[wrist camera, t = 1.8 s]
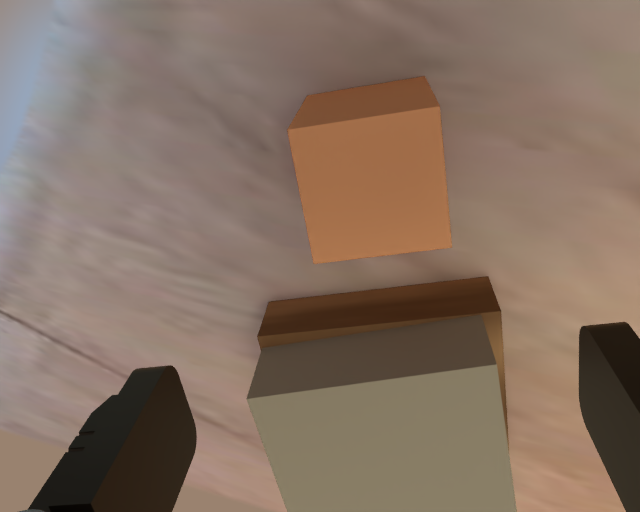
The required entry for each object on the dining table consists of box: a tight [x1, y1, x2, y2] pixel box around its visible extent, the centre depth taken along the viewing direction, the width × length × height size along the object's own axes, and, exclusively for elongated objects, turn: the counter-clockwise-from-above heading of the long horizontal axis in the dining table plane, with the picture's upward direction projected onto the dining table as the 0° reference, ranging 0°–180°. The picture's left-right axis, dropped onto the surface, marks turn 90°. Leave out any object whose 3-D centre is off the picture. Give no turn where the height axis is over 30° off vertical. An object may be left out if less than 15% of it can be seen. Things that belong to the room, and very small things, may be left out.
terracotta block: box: [287, 76, 452, 264], centre depth 25 cm, size 6×6×7 cm
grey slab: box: [247, 315, 517, 512], centre depth 29 cm, size 11×11×4 cm
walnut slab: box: [257, 276, 509, 450], centre depth 33 cm, size 12×12×4 cm
